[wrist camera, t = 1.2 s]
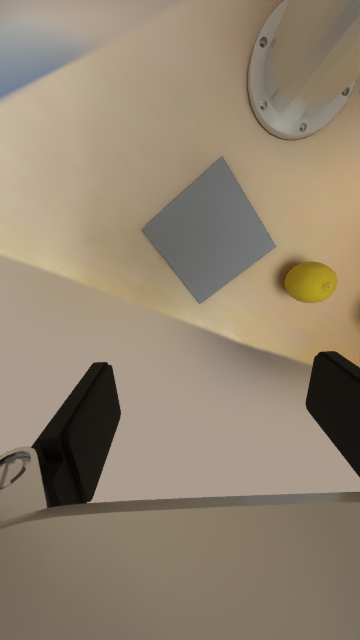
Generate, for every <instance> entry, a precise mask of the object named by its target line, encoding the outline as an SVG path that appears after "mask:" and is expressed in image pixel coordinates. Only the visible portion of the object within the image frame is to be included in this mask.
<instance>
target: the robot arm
mask: <svg viewBox="0 0 360 640" xmlns="http://www.w3.org/2000/svg"><path fill="white" fill-rule="evenodd" d="M358 76H360V0H284V1H282V2H281V3H280V4H279V5H278V6H277V7H276V8H275V9H274V11H273V12H272V13H271V14H270V15H269V17H268V18H267V20H266V22H265V23H264V25H263V27H262V28H261V31H260V33H259V35H258V38H257V40H256V43H255V45H254V48H253V51H252V54H251V58H250V64H249V69H248V92H249V98H250V102H251V106H252V109H253V111H254V113H255V115H256V118H257V119H258V120H259V122H260V123H261V125H262V126H263V127H264V128H265V129H266V130H267V131H269V132H270V133H271V134H273V135H275V136H277V137H279V138H283V139H301V138H305V137H308V136H310V135H312V134H314V133H316V132H317V131H319V130H320V129H322V128H323V127H325V126H326V125H327V124H328V123H329V122H330V121H331V120H333V119H334V117H335V116H336V115H337V114H338V113H339V112H340V111H341V109H342V108H343V106H344V105H345V103H346V102H347V100H348V99H349V97H350V95H351V92H352V90H353V88H354V86H355V83H356V80H357V77H358ZM261 108H262V109H263V110H261ZM300 130H301V131H300ZM306 408H307V410H308V411H309V413H310V414H311V415H312V416H313V418H314V419H315V420H316V422H317V423H318V424H319V426H320V427H321V428H322V429H323V431H324V432H325V433H326V435H327V436H328V437H329V438H330V440H331V441H332V442H333V444H334V445H335V446H336V447H337V449H338V450H339V451H340V452H341V454H342V455H343V456H344V458H345V459H346V460H347V462H348V463H349V464H350V465H351V467H352V468H353V469H354V471H355V472H356V473H357V474H358V476H359V477H360V368H359V367H358V366H356V365H355V364H353V363H352V362H350V361H349V360H347V359H346V358H344V357H343V356H342V355H340V354H339V353H337V352H335V351H328V352H319V353H318V355H316V356H315V358H314V362H313V367H312V373H311V378H310V383H309V388H308V393H307V398H306ZM120 415H121V410H120V405H119V400H118V395H117V389H116V384H115V379H114V375H113V369H112V366H111V365H108V363H107V362H97V363H93V364H92V365H91V367H90V368H89V369H88V371H87V372H86V374H85V375H84V376H83V378H82V379H81V380H80V382H79V383H78V384H77V386H76V387H75V388H74V390H73V391H72V393H71V394H70V395H69V396H68V398H67V399H66V401H65V402H64V403H63V405H62V406H61V408H60V409H59V410H58V411H57V413H56V414H55V416H54V417H53V418H52V420H51V421H50V422H49V424H48V425H47V426H46V428H45V429H44V430H43V432H42V433H41V435H40V436H39V437H38V439H37V440H36V441H35V443H34V444H33V446H32V447H20V448H16V449H13V450H11V451H8V452H6V453H4V454H3V455H1V456H0V640H360V492H339V493H308V494H280V495H253V496H227V497H202V498H178V499H156V500H132V501H117V502H101V503H87V502H90V501H91V500H92V498H93V496H94V493H95V490H96V487H97V484H98V481H99V478H100V475H101V473H102V470H103V467H104V464H105V461H106V458H107V455H108V452H109V449H110V446H111V443H112V440H113V437H114V434H115V432H116V429H117V426H118V423H119V420H120Z"/></svg>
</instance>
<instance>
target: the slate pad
mask: <svg viewBox="0 0 360 640" xmlns="http://www.w3.org/2000/svg"><path fill="white" fill-rule="evenodd" d="M142 231H143V232H144V233H145V235H146V236H147V237H148V238H149V240H150V241H151V242H152V244H153V245H154V246H155V247H156V249H157V250H158V251H159V253H160V254H161V255H162V256H163V258H164V259H165V260H166V261H167V263H168V264H169V265H170V267H171V268H172V269H173V270H174V272H175V273H176V274H177V276H178V277H179V278H180V279H181V281H182V282H183V283H184V285H185V286H186V287H187V288H188V290H189V291H190V292H191V294H192V295H193V296H194V297H195V299H196V300H197V301H198V303H199V304H200V303H202V302H203V301H204V300H206V299H207V298H208V297H210V296H211V295H212V294H214V293H215V292H216V291H218V290H219V289H220V288H222V287H223V286H224V285H226V284H227V283H228V282H230V281H231V280H232V279H234V278H235V277H236V276H238V275H239V274H240V273H242V272H243V271H244V270H246V269H247V268H248V267H250V266H251V265H252V264H254V263H255V262H256V261H258V260H259V259H260V258H262V257H263V256H264V255H266V254H267V253H268V252H270V251H271V250H272V249H274V248H275V247H276V246H275V244H274V242H273V241H272V239H271V237H270V236H269V234H268V232H267V231H266V229H265V227H264V225H263V224H262V222H261V220H260V219H259V217H258V215H257V214H256V212H255V210H254V209H253V207H252V205H251V204H250V202H249V200H248V199H247V197H246V195H245V193H244V192H243V190H242V188H241V187H240V185H239V183H238V182H237V180H236V178H235V177H234V175H233V173H232V172H231V170H230V168H229V167H228V165H227V163H226V161H225V160H224V158H223V156H222V157H221V158H220V159H219V160H218V161H217V162H216V163H215V164H214V165H212V166H211V167H210V168H209V169H208V170H207V171H206V172H205V173H204V174H202V175H201V176H200V177H199V178H198V179H197V180H196V181H195V182H194V183H192V184H191V185H190V186H189V187H188V188H187V189H186V190H185V191H183V192H182V193H181V194H180V195H179V196H178V197H177V198H176V199H175V200H173V201H172V202H171V203H170V204H169V205H168V206H167V207H166V208H165V209H163V210H162V211H161V212H160V213H159V214H158V215H157V216H156V217H155V218H153V219H152V220H151V221H150V222H149V223H148V224H147V225H146V226H145V227H143V228H142Z"/></svg>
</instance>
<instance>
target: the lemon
mask: <svg viewBox="0 0 360 640" xmlns="http://www.w3.org/2000/svg"><path fill="white" fill-rule="evenodd" d="M336 286H337V277H336V274H335V272H334V271H333V270H332V269H331V268H330V267H328V266H326V265H324V264H322V263H318V262H304V263H301V264H298V265H296V266H295V267H293V268H292V269H291V270H290V271H289V272H288V274H287V275H286V278H285V288H286V291H287V292H288V294H289V295H290V296H291V297H293V298H294V299H296V300H298V301H301V302H305V303H316V302H320V301H323V300H325V299H327V298H328V297H330V296H331V295H332V293H333V292H334V291H335V289H336Z"/></svg>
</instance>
